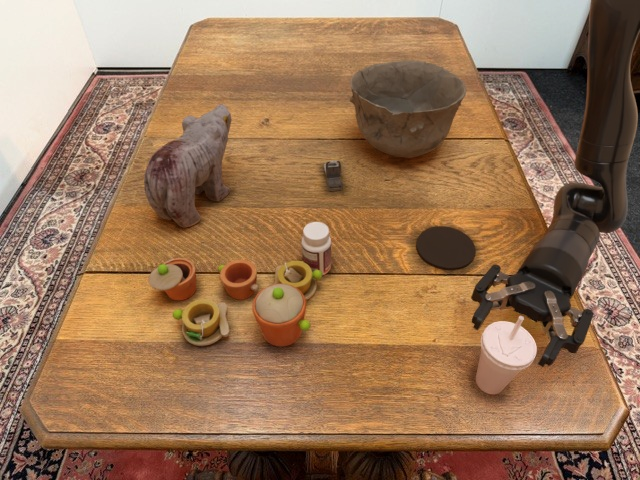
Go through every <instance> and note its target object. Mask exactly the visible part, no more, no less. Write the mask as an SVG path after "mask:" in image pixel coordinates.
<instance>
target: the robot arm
mask: <svg viewBox="0 0 640 480" xmlns="http://www.w3.org/2000/svg"><path fill="white" fill-rule="evenodd" d="M639 34H640V0H590V4H589V15H588V45H587V72H586V75H587V76H586V97H585V107H584V114H583V119H582V124H581V130H580V134H579V138H578V143H577V148H576V153H575V156H574V157H575V158H574V168H575V170H576V172H578V173H579V174H580V175H582V176H584V177H586V178H588V179H590V180H593V181H595V182H596V183H598V184H599V185H600V186H598V185H593V184H587V183H583V182H577V181H574V182H568V183H566V184H564V185H563V186H561V187H560V188H559V189H558V191H557V192H556V195H555V197H554V201H553V213H552V219H551V222H550V224H549V225H548V227H547V229H546V231H545V232H544V234H543V235H542V236H541V237H540V238H539V240H538V241H536V243H535V244H534V246H533V247H532V248H531V250H530V252H529V253H528V255H527V256H526V258H525V259H524V260H523V262H522V264H521V265H520V267H519V269H518V270H517V271H516V273H514V274H511V275H508V274H506V273H504V272H503V271H501V269H502V267H501V266H500V265H499V264H497V263H496V264H492V265H491V266H490V268H489V269H488V270H487V271H486V272H485V273H484V275H483V276H481V278H480V279H479V281H478V282H477V283H476V284H475V286H474V289H473V291H472V294H471V296H470V299H471V300H472V301H473V302H474V303H477V304H478V306H477V308H476V309H475V310H474V312H473V314H472V318H471V324H473V326H472V329H474V330H476V331H479V330H480V329H481V327H482V326H483V325H484V322H485V321H486V319H487V318H488V317H489V315H490V314H491V311H496V310H499V311H504V310H509V309H513V311H514V312H515V313H517V314H519V315H521V316H524V317H527V318H528V319H529V320H531V321H532V322H534V323H537V322H540V325H541V327H542V330H543V333H544V334H545V335H546V336H547V338H548V341H549V342H548V343H547V345H546V347H545V349H544V351H543V352H542V355H541V356H540V358H539V361H538V363H537V365H538V366H540V367H541V368H544V367H545V365H547V366H549V367H551V366H552V365H553V364H554V362H555V360H556V359H557V358H558V355H559V353H560V351H561V350H567V352H568V353H570V354H577V352H578V351H579V349H580V348H581V346H582V345H583V344H584V342H585V340H586V337H587V334H588V331H589V329H590V326H591V322H592V320H593V317H594V311H593V310H591V309H590V308H584V309H583V311H582V310H580V309H578V308H576V307H573V306H572V305H571V299H572V298H573V295H574V293H575V291H576V290H577V288H578V286H579V284H580V282H581V281H582V280H583V277H584V274H585V272H586V270H587V269H588V265H589V262H590V258H591V257H592V255H593V253H594V251H595V249H596V247H597V245H598V243H599V241H600V237H601V233H602V234H610V233H615V232H616V231H618V230H619V229H620V228H622V226H623V225H624V223H625V222H626V221H627V220H626V219H627V217H628V212H629V202H628V190H627V189H628V188H627V169H628V163H629V160H630V155H631V152H632V149H633V145H634V141H635V138H636V133H637V129H638V121H639V115H638V114H639V113H638V106H637V102H636V101H637V100H636V97H635V94H634V90H633V85H632V81H631V64H632V63H631V62H632V57H633V52H634V49H635V45H636V43H637V40H638V37H639ZM501 284H502V285H504V286H505V287H502V288H501V289H499V290H497V291H493V292H489V290H490V289H491V287H493V288H495V287H497V286H499V285H501ZM567 316H568V317H569V320H570V321H569V322H570V325H571V327H573V329H572V332H571V334H568V332H567V329H566V327H565V325H564V317H567Z"/></svg>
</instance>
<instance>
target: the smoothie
mask: <svg viewBox="0 0 640 480" xmlns="http://www.w3.org/2000/svg"><path fill="white" fill-rule="evenodd" d="M524 320H525V316H524V315H520V316H518V318H517V320H516V322H515V323H514V322H512V321H506V320H499V321H495V322H492V323H490V324H488V326H486V327H485V328H484V331H483V332H482V334H481V337H480V347H481V349H480V354H479V359H478V364H477V370H476V375H475V383H476V385H477V387H478V388H479V389H480V390H481V391H482V392H483V393H485V394H487V395H488V394H489V395H499V394H500V393H501V392H502V391H503V390H504V389H505V388H506V387H507V386H508V385H509V384H510V383H511V382H512V381H513V380H514V379H515V378H516V377H517V375H518V374H520V372H521V371H522V370H524V369H526V368H529V367H530V365H532V364H533V362H534V360H535V359H536V358H535V357H536V356H537V353H538V352H537V351H538V348H537V343H536V340H535V339H534V337H533V336H532V335H531V333H530V332H529V331H528V330H527V329H525V328H524V327H522V325H523V324H522V323H523V322H524Z"/></svg>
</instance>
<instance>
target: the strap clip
mask: <svg viewBox="0 0 640 480" xmlns="http://www.w3.org/2000/svg"><path fill="white" fill-rule="evenodd" d="M341 169H342V165H341V161H340V160H328V161H326V162H325V163H324V164H323V171H324V175H325V177H326V185H327V189H328V191H329V192H333V191H334V192H335V191H342V190H344V189H343V188H344V185H343V181H342V179H341V172H342V171H341Z"/></svg>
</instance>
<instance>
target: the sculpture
mask: <svg viewBox="0 0 640 480" xmlns="http://www.w3.org/2000/svg"><path fill="white" fill-rule="evenodd" d="M231 125H232V115H231V112H230V110H229V108H228V107H227V106H226V105H225V104H224V103H219V104H218V105H217V106H215V108H214V109H212V110H209V111H208V112H206V113H204V114H203V115H201V116H199V117H195V116H193V115H187V116H185V117H183V119H182V121H181V127H182V133H183V134H181V136H179V137H177V138H174V139H173V140H171V141H169V142H167V143H165V144H164V145H161V146H160V147H159V148H158V149H157V150H156V151H155V152H154V153H153V154H152V155H151V157H150V158H149V160H148V163H147V165H146V168H145V172H144V175H143V177H144V178H143V184H144V186H143V188H144V194H145V197H146V199H147V202H148V204H149V205H150V207H151V209H152V210H153V211H154V213H156V214H157V216H159V218H160V219H163V220H167V221H171V220H173V222H175V223H176V225H178V226H179V227H181V228H185V229H186V228H189V227H192V226H194V225H197V224H198V223H199V222H200V220H201V215H200V213H199V211H198V209H197V208H196V204H195V201H196V195H201V194H202V193H203V191H204V194H205V196H206V197H207V198H208V199H209V200H210V201H212V202H220V201H222V200H224V198H226V197H227V196H228V195H229V194H230V191H231V189H230V188H229V187H228V186H226V185H224V181H223V180H224V179H223V160H224V155H225V151H226V149H227V145H228V141H229V133H230V129H231Z"/></svg>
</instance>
